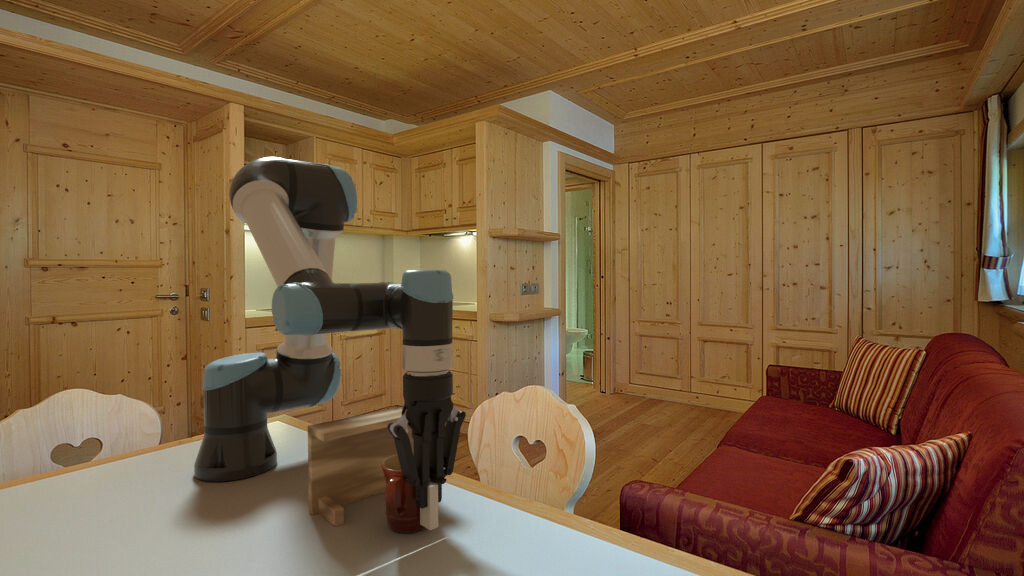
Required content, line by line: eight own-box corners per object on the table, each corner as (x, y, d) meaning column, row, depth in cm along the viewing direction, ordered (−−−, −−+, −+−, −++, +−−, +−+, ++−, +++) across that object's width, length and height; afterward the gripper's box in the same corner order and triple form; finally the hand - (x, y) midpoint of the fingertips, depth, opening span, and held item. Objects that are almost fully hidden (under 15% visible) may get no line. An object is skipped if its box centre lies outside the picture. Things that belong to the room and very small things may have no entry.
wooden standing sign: (308, 512, 87) (307, 425, 86) (410, 480, 100) (410, 405, 100) (328, 528, 81) (327, 436, 81) (434, 492, 94) (433, 412, 94)
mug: (396, 510, 87) (395, 450, 87) (445, 514, 85) (444, 453, 85) (361, 546, 75) (360, 476, 75) (417, 551, 74) (416, 480, 73)
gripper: (403, 380, 70) (405, 550, 71) (476, 369, 79) (477, 520, 80) (376, 373, 76) (378, 531, 76) (448, 363, 85) (449, 504, 85)
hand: (429, 525), depth 78 cm, fingers closed
